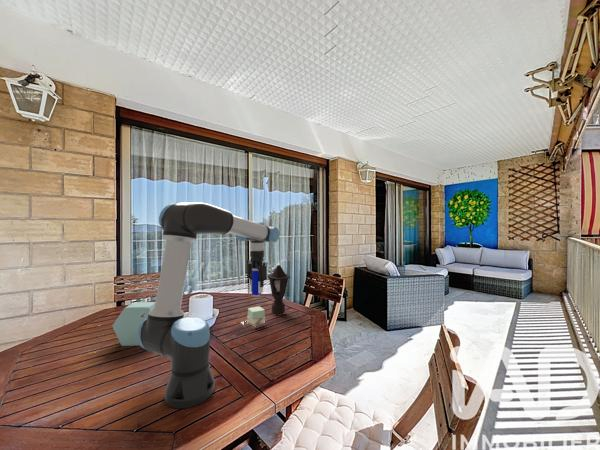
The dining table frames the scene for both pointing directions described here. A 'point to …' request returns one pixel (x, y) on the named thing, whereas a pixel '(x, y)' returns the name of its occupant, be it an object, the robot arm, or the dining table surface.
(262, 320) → the block bottom
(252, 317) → the block top
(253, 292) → the beverage can
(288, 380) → the dining table surface
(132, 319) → the mint green hexagonal block
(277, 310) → the lantern
